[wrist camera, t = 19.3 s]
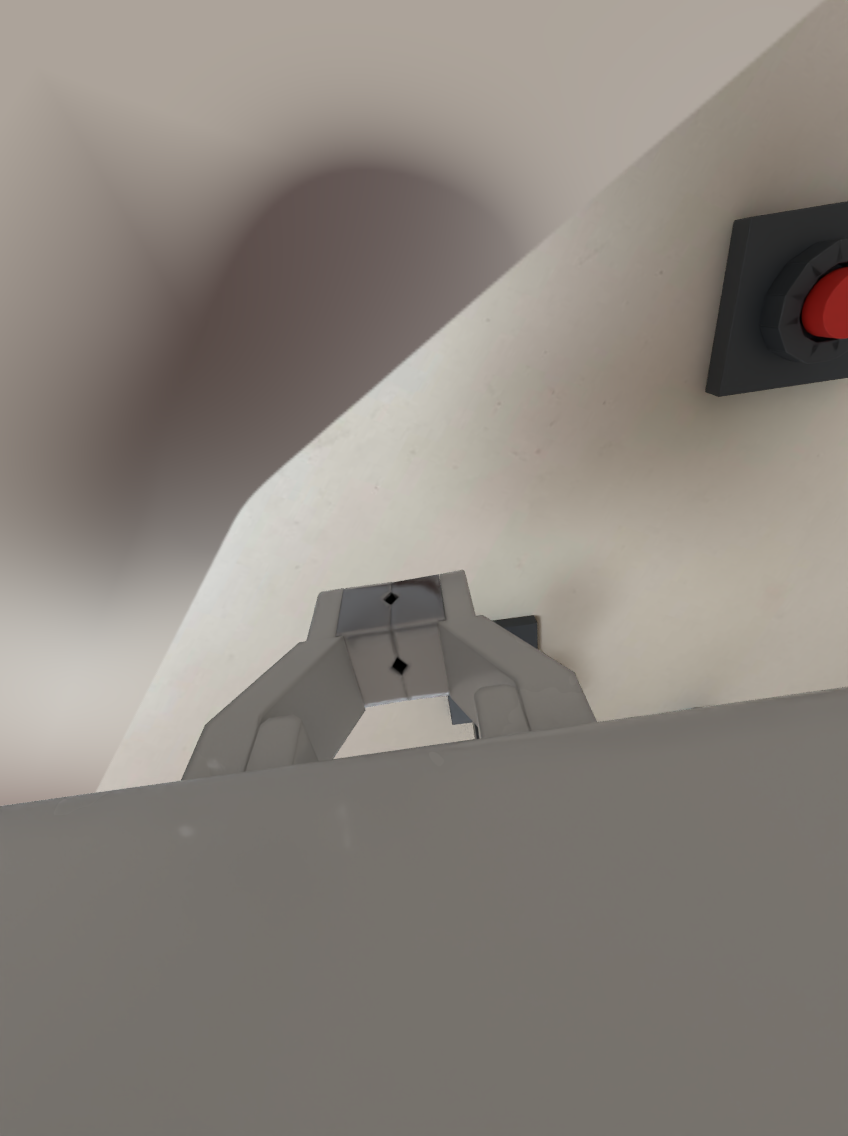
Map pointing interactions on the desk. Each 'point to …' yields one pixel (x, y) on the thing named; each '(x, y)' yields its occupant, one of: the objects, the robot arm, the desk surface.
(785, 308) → the button box
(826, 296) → the red button
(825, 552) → the desk surface
